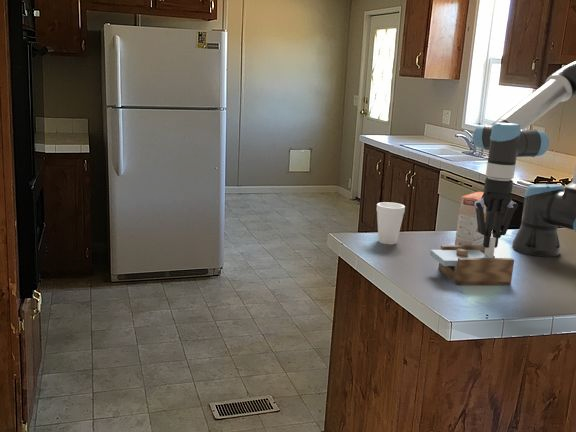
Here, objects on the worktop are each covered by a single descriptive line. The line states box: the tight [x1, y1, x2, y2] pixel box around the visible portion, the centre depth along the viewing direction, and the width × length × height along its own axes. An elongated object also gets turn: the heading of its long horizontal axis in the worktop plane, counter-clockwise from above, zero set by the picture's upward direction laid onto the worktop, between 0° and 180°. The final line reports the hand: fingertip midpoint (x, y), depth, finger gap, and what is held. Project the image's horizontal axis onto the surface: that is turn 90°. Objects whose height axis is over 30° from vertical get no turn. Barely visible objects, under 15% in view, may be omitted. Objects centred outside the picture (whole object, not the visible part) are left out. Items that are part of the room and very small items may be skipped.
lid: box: [429, 249, 490, 266], centre depth 174 cm, size 15×10×3 cm
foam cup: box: [376, 201, 406, 245], centre depth 207 cm, size 10×9×13 cm
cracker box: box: [454, 191, 486, 245], centre depth 192 cm, size 14×6×21 cm, turn 141°
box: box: [437, 244, 515, 286], centre depth 175 cm, size 16×14×8 cm
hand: (488, 258), depth 175 cm, fingers closed
